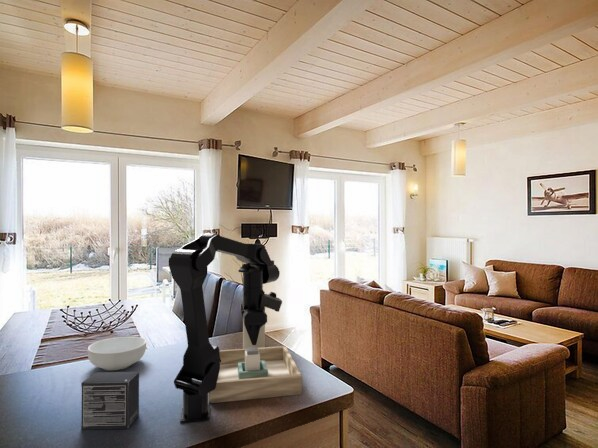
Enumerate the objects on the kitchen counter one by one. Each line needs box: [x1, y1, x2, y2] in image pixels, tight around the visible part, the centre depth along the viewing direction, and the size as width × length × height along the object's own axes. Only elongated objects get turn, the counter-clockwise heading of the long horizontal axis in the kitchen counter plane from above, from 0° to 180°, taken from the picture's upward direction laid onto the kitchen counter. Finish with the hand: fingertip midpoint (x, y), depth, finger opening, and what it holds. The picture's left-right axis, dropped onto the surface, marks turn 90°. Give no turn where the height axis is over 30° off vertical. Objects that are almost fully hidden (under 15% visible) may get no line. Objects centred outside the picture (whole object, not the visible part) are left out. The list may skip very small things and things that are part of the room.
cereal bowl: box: [87, 336, 147, 372], centre depth 116 cm, size 17×17×7 cm
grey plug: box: [245, 347, 260, 371], centre depth 106 cm, size 4×4×8 cm
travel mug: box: [242, 308, 266, 349], centre depth 133 cm, size 8×8×18 cm
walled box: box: [208, 345, 303, 404], centre depth 106 cm, size 24×24×5 cm
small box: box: [80, 371, 140, 431], centre depth 83 cm, size 11×6×10 cm, turn 92°
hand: (252, 339), depth 106 cm, fingers open, 9 cm apart
